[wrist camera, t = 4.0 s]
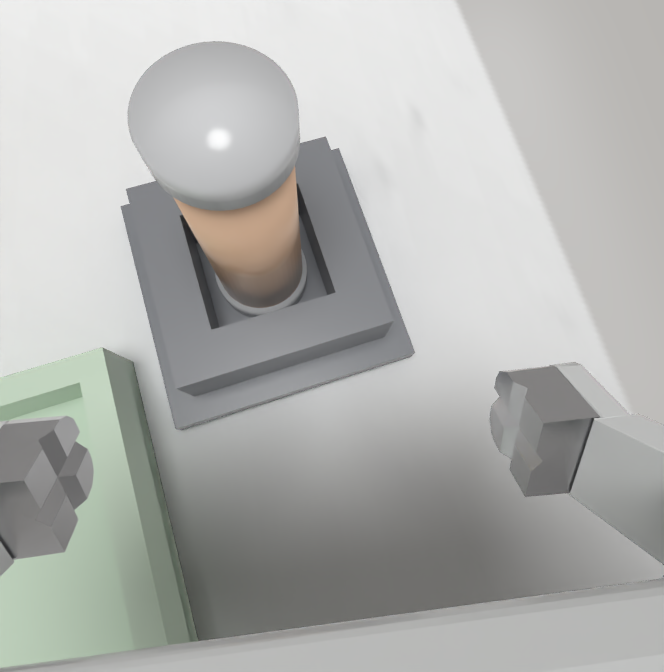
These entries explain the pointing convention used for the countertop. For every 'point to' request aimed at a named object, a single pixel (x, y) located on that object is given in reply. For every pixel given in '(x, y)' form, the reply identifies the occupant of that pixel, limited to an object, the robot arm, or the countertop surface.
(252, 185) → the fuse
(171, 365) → the socket block
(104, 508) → the parts tray
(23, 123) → the countertop surface
